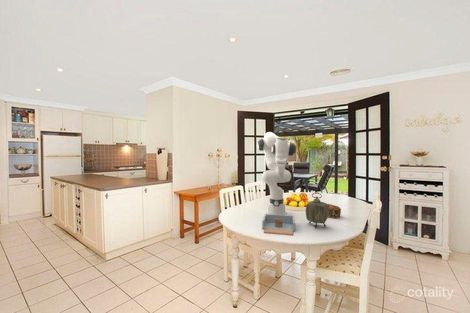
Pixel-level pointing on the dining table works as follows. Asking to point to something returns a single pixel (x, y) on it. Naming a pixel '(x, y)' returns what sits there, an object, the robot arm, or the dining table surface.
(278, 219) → the walnut block
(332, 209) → the bread
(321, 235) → the dining table surface
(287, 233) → the panel
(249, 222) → the dining table surface
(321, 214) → the tabletop clock
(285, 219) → the blue-grey open tray
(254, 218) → the dining table surface
